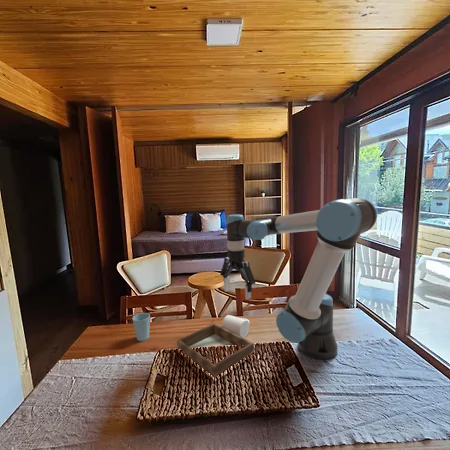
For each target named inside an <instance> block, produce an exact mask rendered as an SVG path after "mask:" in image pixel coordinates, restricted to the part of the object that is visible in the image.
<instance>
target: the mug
mask: <svg viewBox="0 0 450 450" xmlns="http://www.w3.org/2000/svg"><path fill="white" fill-rule="evenodd" d="M221 327H223V328H225V329H227V330H229V331H231V332H233V333H235V334H236V335H238V336H240V337H242V338H244V339H246V337H247V335H248V333H249V330H250V320H249V319H248V318H246V317H238V316H234V315H231V314H227V315H225V316H224V318H223V320H222V324H221Z"/></svg>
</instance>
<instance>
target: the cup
mask: <svg viewBox="0 0 450 450" xmlns="http://www.w3.org/2000/svg"><path fill="white" fill-rule="evenodd" d="M150 319H151V313H147V312H141V313H137V314H135V315H133V317H132V318H131V320H132V324H133V327H134V333H135V336H136V337H135V339H136V340H137V341H138V342H144V341H146V340H149V339H150V329H151V328H150V324H151V320H150Z"/></svg>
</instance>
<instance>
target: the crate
mask: <svg viewBox="0 0 450 450" xmlns="http://www.w3.org/2000/svg"><path fill="white" fill-rule="evenodd" d="M176 343H177V344H176V345H177V350H178V349H181V350H183V351H184V352H185V353H186V354H187V355H188V356H189V357H190V358H191V359H192V360H193V361H194V362H196V363H197V364H198V365H199V366H201V367H202V368H203V369H204V370H206V371H207V372H208V373H210V374H211V375H212V376H213V377H217V376H218V375H219V374H221V373H222V372H224V371H225V370H227V369H228V368H230V367H231V366H233V365H234V364H236V363H237V362H239V361H240V360H242V359H243V358H244V357H246V356H247V355H248V354H250V353H251V352H252V351H253V350H254V349H255V348H254V342H252V341H250V340H248V339H246V338H242V337H240V336H238V335H236V334H235V333H233V332H231V331H229V330H227V329H225V328H223V327H222V325H219V324H217V323H216V322H214V323H212V324H210V325H208V326H206V327H202V328H201V329H198V330H197V331H194V332H192V333H190V334H188V335H186V336H184V337H181V338H180V339H179V338H178V339H177V340H176ZM224 345H244V346H245V347H243V348H241V349H240V350H238V351H236V352H235V353H233V354H231V355H230V356H228V357H226V358H225V359H223V360H221V361H220V362H218V363H216V364H213V363H212V362H211V361H209V360H208V359H206V358H205V357H203V356H202V355H201V354H199V353H198V352H196V351H195V350H193V349H192V348H196V347H209V346H224Z"/></svg>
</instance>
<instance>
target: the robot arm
mask: <svg viewBox="0 0 450 450" xmlns="http://www.w3.org/2000/svg"><path fill="white" fill-rule="evenodd" d="M377 219H378V213H377V209H376V207H375V205H374V204H373V203H372V202H370V201H369V200H367V199H365V198H362V197H353V198H340V199H335V200H332V201H330V202H328V203H326V204H324V205H323V206H322V207H321V208H320V209H317V210H311V211H305V212H298V213H292V214H287V215H280V216H272V217H268V218H259V219H255V220H249V219H248V220H246V219H245V218H244V215H243V214H237V213H236V214H229V215H227V216H226V238H227V239H226V240H227V241H226V243H227V245H226V247H227V257H224V258H223V259H224V260H223V265H222V268H221V271H220V275H219V276H222V278H223V284H224V292H229V291H231V283H230V281H231V280H230V279H231V278H230V274H231V272H232V271H233V270H236V271H238V272H239V273H240V275H241V277H242V279H243V281H244V282H245V285H244V286H245V287H244V290H245V291H244V292H245V293H244V295H245V300H249V299H251V298H252V291H253V287H252V285H255V284H256V279H255V276H254V274H253V272H252V269H251V267H250V261H244V258H245V239H250V240H253V241H255V240H256V241H257V240H260V241H261V240H264V239H265V237H267V236H272V235H281V234H290V233H292V234H293V233H299V232H300V233H301V232H311V231H313V232H314V231H316V234H315V235H316V238H317V240H318V241H317V244H316V246H315V249H314V250H313V254H312V256H311V257H310V260H309V263H308V265H307V268H306V270H305V272H304V275H303V277H302V279H301V282H300V285H299V287H298V288H297V291H296V294H295V295H292V296H290V298H289V299H288V302H287V303H286V305H285V308H284V310H280V312H279V313H277V315H276V317H275V323H276V327H277V329H278V331H279V333H280V334H281V336H282V337H283V338H284V339H285V340H286V341H288V342H290V343H293V344H297V345H298V346H297V347H298V350H299V351H300V352H301V353H302V354H304V355H305V356H307V357H309V358H313V359H316V360H328V359H329V360H330V359H332V358H335V357H336V356H337V354H338V350H339V349H338V348H339V346H338V343H337V340H336V337H335V334H334V332H333V331H334V303H333V301H334V300H333V297H332V296H331V295H330V294H327V291H328V290H329V287H330V286H331V283H332V281H333V279H334V277H335V274H336V272H337V270H338V268H339V267H340V264H341V262H342V260H343V257H344V256H345V254H346V252H349V251H352V250H353V249H354V248H355V246H356V243H357V241H358V239H359V238H360V235H361V234H364V233H366V232H368V231H369V230H372V228H374V225H375V224H376V221H377Z"/></svg>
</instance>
